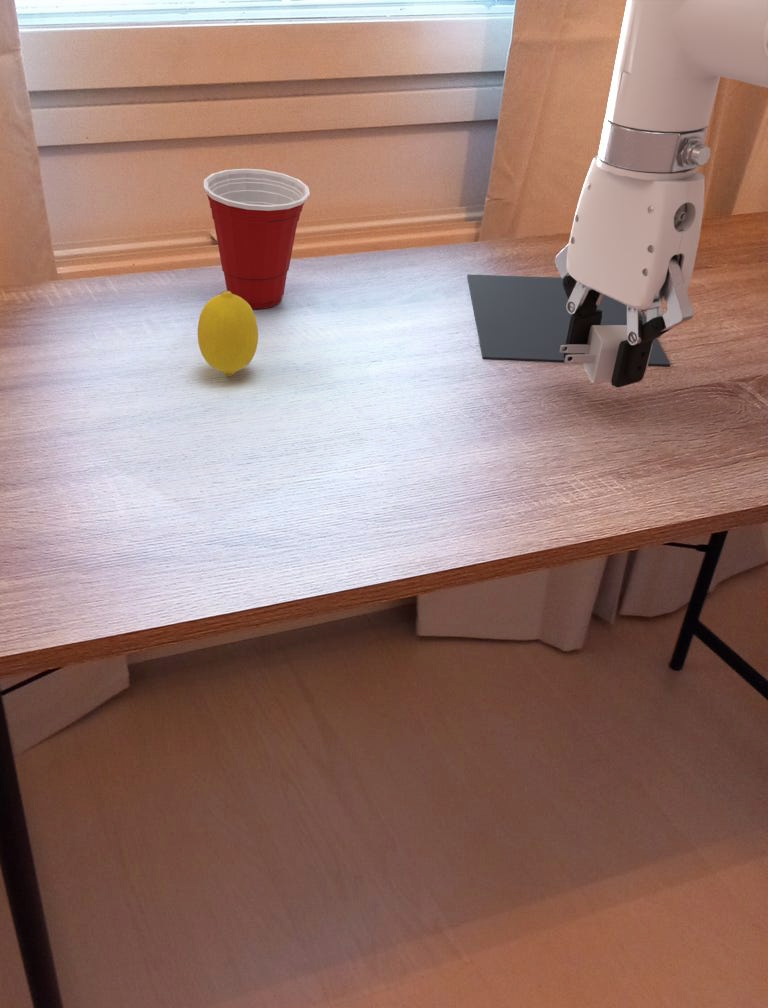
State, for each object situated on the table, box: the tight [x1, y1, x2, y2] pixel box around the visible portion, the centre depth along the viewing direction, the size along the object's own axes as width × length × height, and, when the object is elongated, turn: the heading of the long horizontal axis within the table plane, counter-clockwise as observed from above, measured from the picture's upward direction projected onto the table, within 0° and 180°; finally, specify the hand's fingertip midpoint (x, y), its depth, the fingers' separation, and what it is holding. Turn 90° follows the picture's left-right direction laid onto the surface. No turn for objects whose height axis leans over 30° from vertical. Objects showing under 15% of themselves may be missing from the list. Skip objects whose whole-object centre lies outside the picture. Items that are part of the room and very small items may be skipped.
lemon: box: [197, 290, 259, 377], centre depth 93 cm, size 6×6×8 cm
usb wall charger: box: [560, 325, 652, 384], centre depth 89 cm, size 4×7×4 cm, turn 91°
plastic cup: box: [203, 168, 311, 310], centre depth 106 cm, size 11×11×12 cm
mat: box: [466, 273, 671, 367], centre depth 107 cm, size 22×18×1 cm
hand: (602, 367), depth 89 cm, fingers closed on usb wall charger, 5 cm apart
